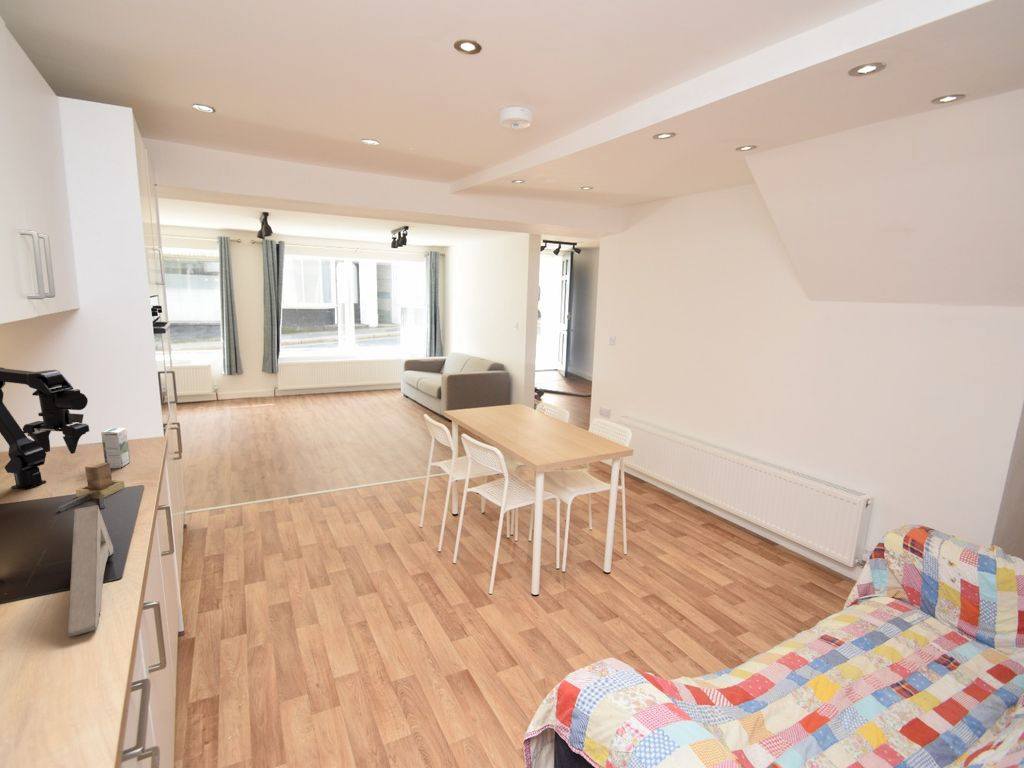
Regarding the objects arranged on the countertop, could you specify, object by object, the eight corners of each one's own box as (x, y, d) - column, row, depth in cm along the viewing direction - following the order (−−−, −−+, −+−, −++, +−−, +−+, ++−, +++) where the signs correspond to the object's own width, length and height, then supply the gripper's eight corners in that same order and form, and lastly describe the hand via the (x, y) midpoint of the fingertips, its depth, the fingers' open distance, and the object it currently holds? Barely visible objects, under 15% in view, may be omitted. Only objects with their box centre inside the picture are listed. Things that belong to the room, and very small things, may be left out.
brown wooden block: (89, 494, 168) (84, 466, 165) (101, 489, 172) (97, 461, 170) (101, 495, 167) (97, 467, 165) (113, 490, 172) (109, 462, 169)
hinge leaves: (46, 510, 156) (45, 503, 155) (101, 485, 174) (100, 479, 174) (91, 514, 155) (90, 506, 154) (141, 488, 173) (140, 482, 173)
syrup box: (114, 463, 194) (109, 427, 191) (131, 462, 195) (126, 427, 192) (105, 468, 189) (100, 432, 186) (122, 468, 190) (117, 432, 187)
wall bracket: (89, 667, 117) (92, 551, 133) (113, 659, 119) (113, 547, 135) (68, 633, 103) (74, 509, 119) (95, 626, 105) (97, 505, 121)
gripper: (100, 403, 173) (106, 446, 176) (51, 400, 174) (58, 443, 177) (69, 412, 162) (77, 457, 165) (17, 409, 163) (26, 454, 167)
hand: (60, 452), depth 169 cm, fingers open, 9 cm apart
